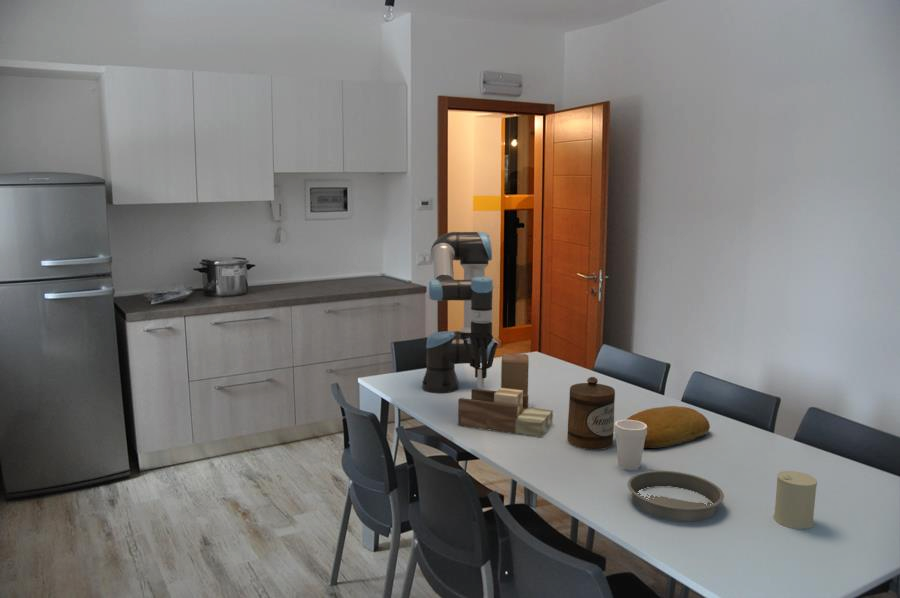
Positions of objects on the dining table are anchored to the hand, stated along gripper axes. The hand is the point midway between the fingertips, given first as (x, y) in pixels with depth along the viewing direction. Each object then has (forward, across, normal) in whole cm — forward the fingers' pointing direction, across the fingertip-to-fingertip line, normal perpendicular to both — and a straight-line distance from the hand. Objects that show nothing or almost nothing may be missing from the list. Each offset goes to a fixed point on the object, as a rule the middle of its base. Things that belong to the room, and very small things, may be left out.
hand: (480, 386), depth 254 cm
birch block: (+8, +10, 0) cm, 13 cm away
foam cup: (+14, +55, -20) cm, 61 cm away
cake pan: (+14, +70, -42) cm, 83 cm away
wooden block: (+13, +6, +20) cm, 25 cm away
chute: (+13, +9, 0) cm, 16 cm away
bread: (+14, +62, +10) cm, 64 cm away
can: (+14, +99, -40) cm, 108 cm away
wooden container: (+13, +40, -4) cm, 43 cm away
